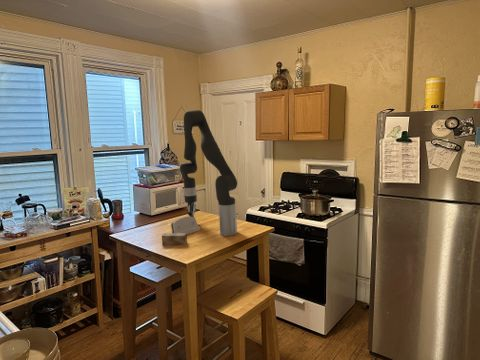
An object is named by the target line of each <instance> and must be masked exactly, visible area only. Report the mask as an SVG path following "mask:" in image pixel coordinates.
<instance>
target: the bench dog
mask: <svg viewBox="0 0 480 360" xmlns="http://www.w3.org/2000/svg"><path fill="white" fill-rule="evenodd" d="M187 235H188V234H186V233H172V232H170V233H168V232H166V233H165V232H164V233H163V234H162V235H161V243H162V246H186V244H187V243H188V237H187Z"/></svg>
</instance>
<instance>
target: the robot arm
mask: <svg viewBox="0 0 480 360" xmlns="http://www.w3.org/2000/svg"><path fill="white" fill-rule="evenodd" d="M196 127H198V129H199V131H200V133H201V142H200V149H201V151H202V153H203V155H204V157H205V159H206V160H207V161H208V162H209V164H211V165H212V166H213V167H215V169H216V170H217V171H218V172H219V174H220V175H219V176H217V177H216V179H215V183H214V184H215V193H216V200H217V202H218V218H219V235H221V236H223V237H232V236H236V235H237V233H238V221H237V215H236V214H237V213H236V212H237V211H236V199H235V197H233V196H230V192H231V191H233V190H236V188H237V186H238V180H237V178H236V176H235V174H234V172H233V171H232V170H231V167H230V166H229V164H228V163H227V161H226V160H225V157H224V155H223V154H222V151H221V150H220V147H219V145H218V143H217V141H216V139H215V137H214V135H213V133H212V131H211V129H210V126H209V123H208V121H207V118H206V116H205V113H204V112H203V111H202V110H200V109H195V110H187V111H185V112H184V115H183V132H184V149H183V150H184V151H183V158H184V160H185V161H187V162H182V163H180V165H179V171H180V174H181V176H182V180H183V193H184V203H186V204H187V205H186V206H187V207H186V212H187V215H188V217H195V214H196V206H197V205H196V204H195V203H196V202H198V197H197V188H196V179H195V177H191V176H189V175H190V174H195V173H197V171H198V164H197V158H196V157H197V143H196V141H195V139H194V137H193V128H196ZM188 161H190V162H188Z"/></svg>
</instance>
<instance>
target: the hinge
mask: <svg viewBox="0 0 480 360" xmlns="http://www.w3.org/2000/svg"><path fill="white" fill-rule="evenodd" d="M170 227H171V233H186V234H187V235H189V234H192V233H196V232H198V231H200V230H201V227H200V226H199V224H198V222H197V219H196V217H195V216H194V217H190V216H183V217H180V218H177V219H175V220H174V221H173V222H171V223H170Z"/></svg>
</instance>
